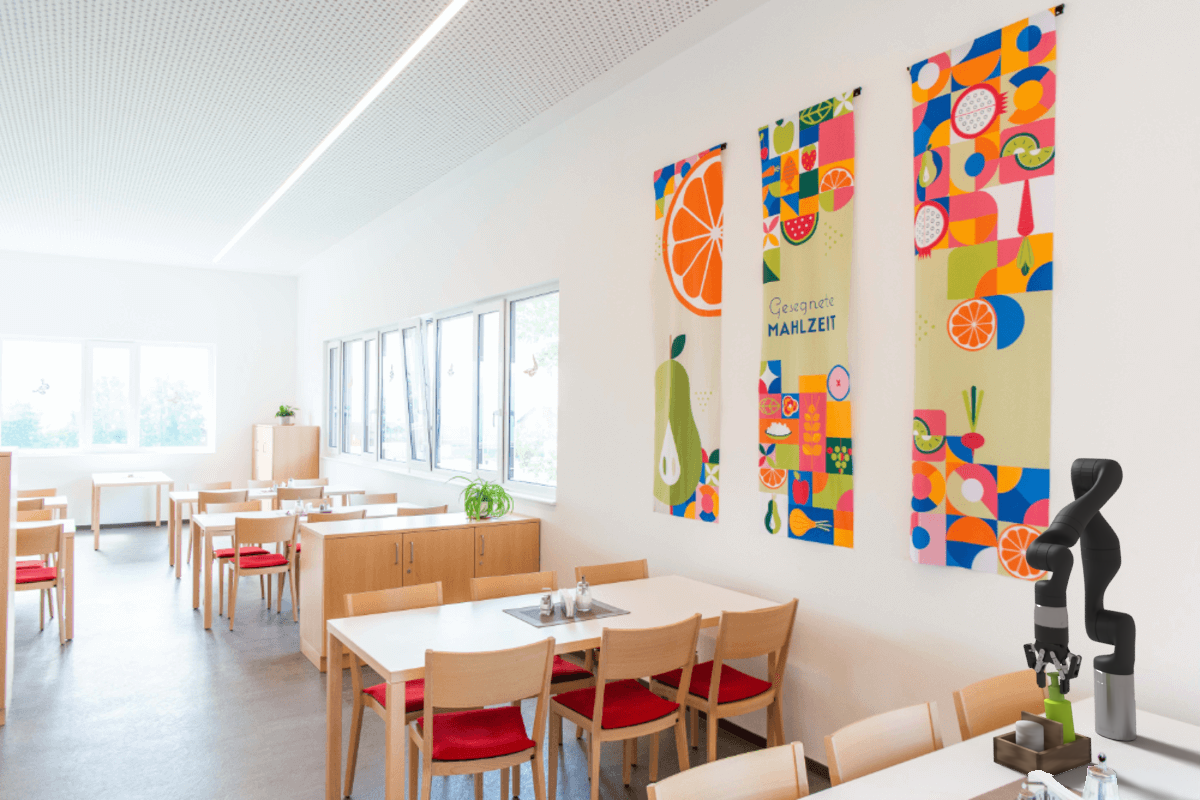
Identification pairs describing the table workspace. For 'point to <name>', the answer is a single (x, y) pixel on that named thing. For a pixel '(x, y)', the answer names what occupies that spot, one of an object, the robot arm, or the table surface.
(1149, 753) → the table surface
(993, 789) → the table surface
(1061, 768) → the caddy
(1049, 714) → the soap dispenser
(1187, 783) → the table surface
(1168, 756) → the table surface
